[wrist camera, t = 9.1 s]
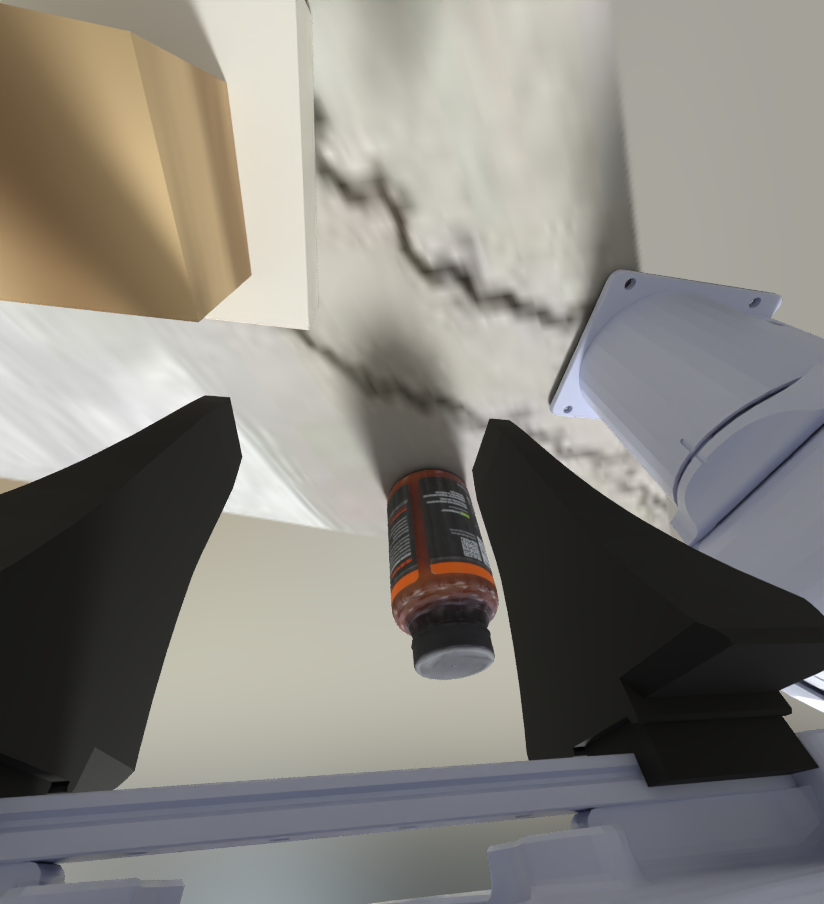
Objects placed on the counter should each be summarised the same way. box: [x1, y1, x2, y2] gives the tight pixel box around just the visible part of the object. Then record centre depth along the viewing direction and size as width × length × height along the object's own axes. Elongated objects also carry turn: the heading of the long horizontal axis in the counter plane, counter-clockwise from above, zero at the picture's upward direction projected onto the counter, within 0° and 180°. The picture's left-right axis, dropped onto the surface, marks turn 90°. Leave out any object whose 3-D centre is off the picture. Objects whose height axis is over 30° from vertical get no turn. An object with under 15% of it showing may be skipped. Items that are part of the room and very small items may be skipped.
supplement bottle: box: [387, 469, 499, 680], centre depth 21 cm, size 6×6×11 cm
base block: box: [0, 0, 318, 330], centre depth 12 cm, size 9×9×3 cm
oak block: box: [0, 3, 252, 322], centre depth 9 cm, size 5×5×5 cm
